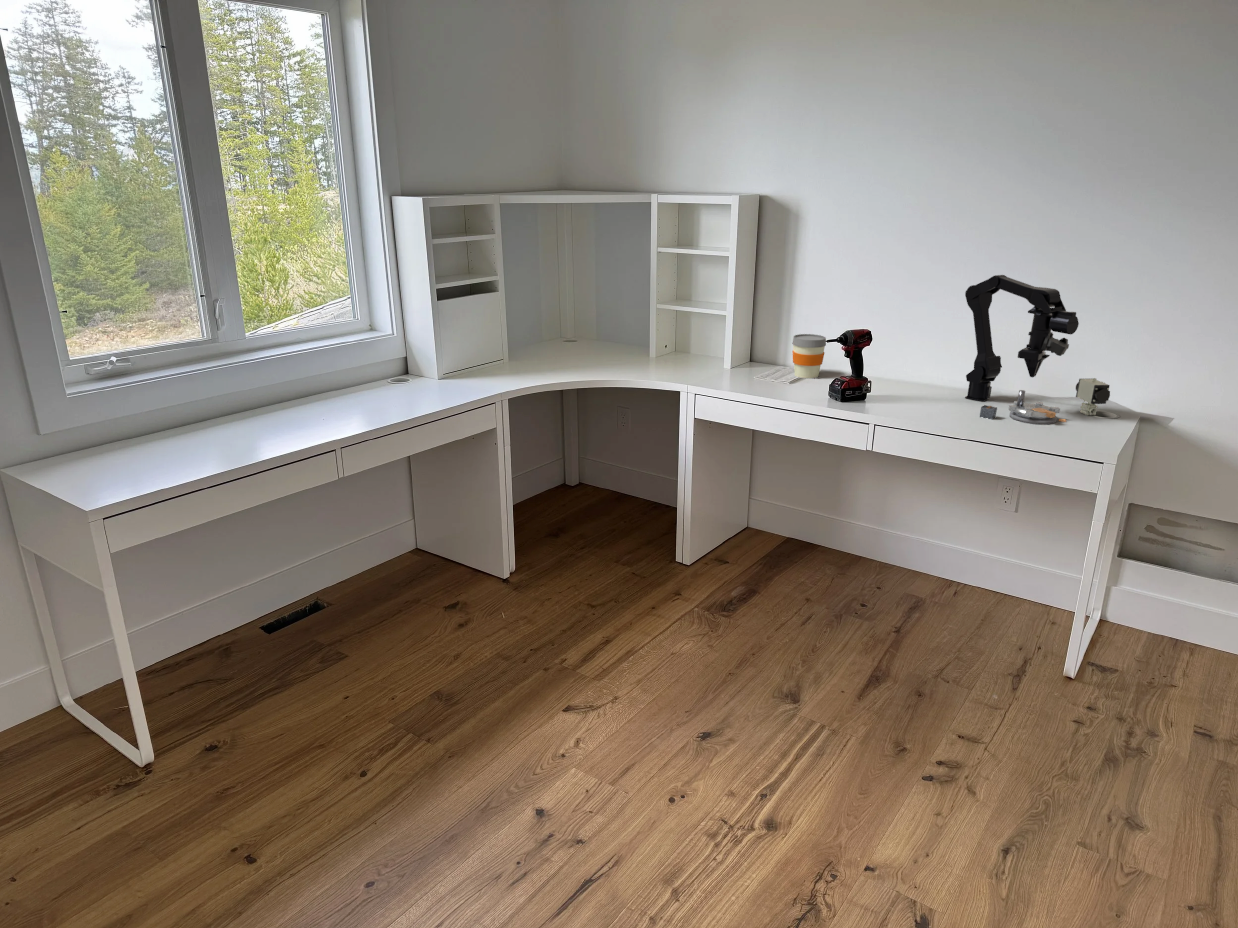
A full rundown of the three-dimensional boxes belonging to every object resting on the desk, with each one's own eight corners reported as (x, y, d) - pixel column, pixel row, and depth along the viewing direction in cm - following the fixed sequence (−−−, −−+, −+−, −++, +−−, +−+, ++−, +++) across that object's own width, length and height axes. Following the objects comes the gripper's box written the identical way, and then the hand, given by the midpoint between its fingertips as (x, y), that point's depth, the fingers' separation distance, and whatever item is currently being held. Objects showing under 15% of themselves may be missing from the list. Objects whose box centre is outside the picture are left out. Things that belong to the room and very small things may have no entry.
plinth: (1003, 418, 267) (1003, 415, 266) (1017, 409, 276) (1018, 407, 276) (1056, 428, 256) (1056, 425, 256) (1069, 419, 266) (1070, 416, 266)
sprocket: (1002, 414, 266) (1005, 393, 263) (1018, 405, 276) (1021, 385, 274) (1049, 423, 257) (1053, 402, 254) (1064, 413, 267) (1068, 392, 265)
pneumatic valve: (1091, 419, 266) (1099, 383, 262) (1070, 409, 277) (1077, 374, 273) (1108, 419, 267) (1115, 382, 262) (1086, 409, 278) (1093, 374, 273)
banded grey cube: (979, 417, 268) (981, 406, 267) (982, 415, 270) (984, 404, 269) (992, 419, 265) (993, 409, 264) (995, 417, 268) (997, 407, 266)
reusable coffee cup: (783, 375, 320) (786, 336, 315) (803, 370, 328) (806, 332, 323) (809, 381, 311) (813, 341, 306) (829, 376, 319) (833, 337, 314)
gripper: (1059, 336, 253) (1050, 386, 258) (1077, 328, 266) (1068, 375, 271) (1021, 331, 260) (1012, 380, 265) (1040, 324, 273) (1032, 370, 278)
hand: (1032, 376), depth 270 cm, fingers closed
